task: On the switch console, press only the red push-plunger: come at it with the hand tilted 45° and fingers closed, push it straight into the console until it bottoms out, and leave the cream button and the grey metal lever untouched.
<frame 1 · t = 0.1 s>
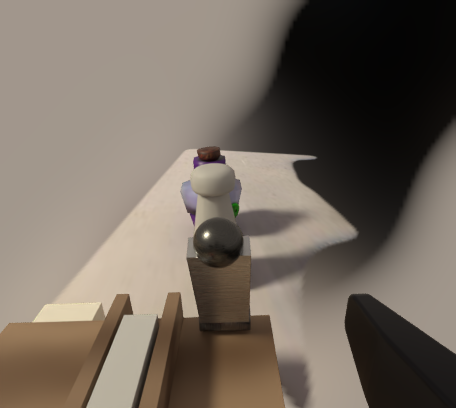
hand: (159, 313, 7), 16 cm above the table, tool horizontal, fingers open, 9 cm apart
lever: (222, 283, 17), point 11 cm above the table, hinge at -20.0°
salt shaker: (219, 279, 35), on the table
potion bottle: (214, 231, 45), on the table
cream button: (73, 339, 24), point 3 cm above the table, slide at 0.0 cm
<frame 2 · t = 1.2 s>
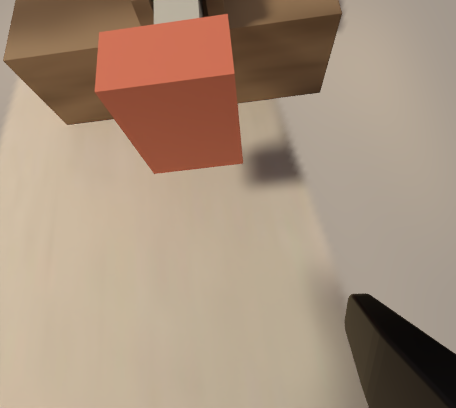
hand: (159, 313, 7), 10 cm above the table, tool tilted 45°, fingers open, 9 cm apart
red plunger: (179, 16, 15), point 7 cm above the table, slide at 0.0 cm
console: (188, 64, 23), on the table
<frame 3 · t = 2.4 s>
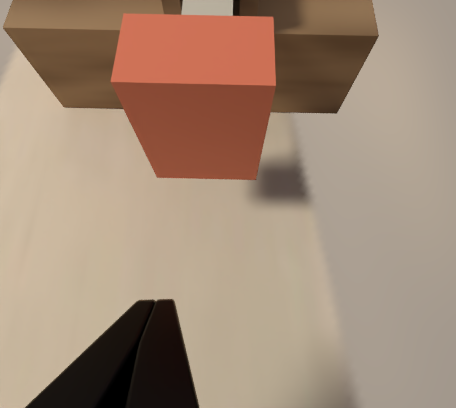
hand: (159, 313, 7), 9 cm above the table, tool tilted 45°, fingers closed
red plunger: (209, 10, 13), point 8 cm above the table, slide at 0.0 cm
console: (203, 62, 22), on the table
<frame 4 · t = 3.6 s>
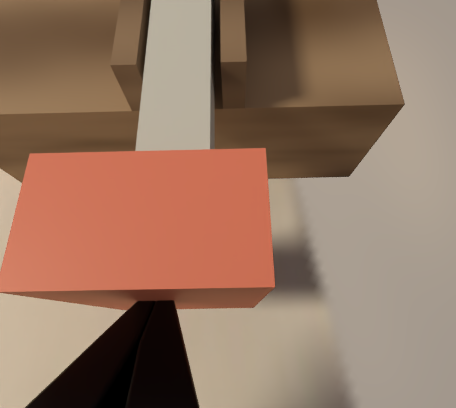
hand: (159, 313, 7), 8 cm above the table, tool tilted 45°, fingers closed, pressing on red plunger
red plunger: (181, 91, 10), point 7 cm above the table, slide at 0.1 cm, touching gripper
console: (187, 119, 19), on the table
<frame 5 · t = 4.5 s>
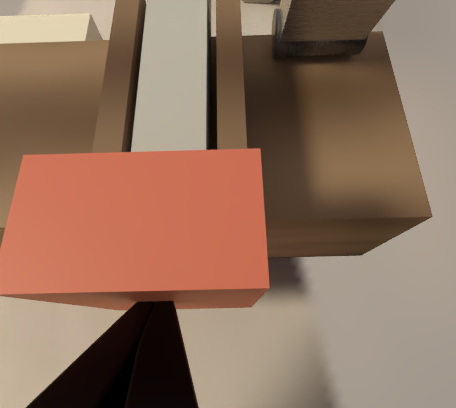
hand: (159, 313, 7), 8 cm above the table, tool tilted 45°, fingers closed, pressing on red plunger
red plunger: (177, 91, 10), point 7 cm above the table, slide at 4.5 cm, touching gripper
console: (182, 186, 17), on the table
cream button: (66, 74, 17), point 3 cm above the table, slide at 0.0 cm
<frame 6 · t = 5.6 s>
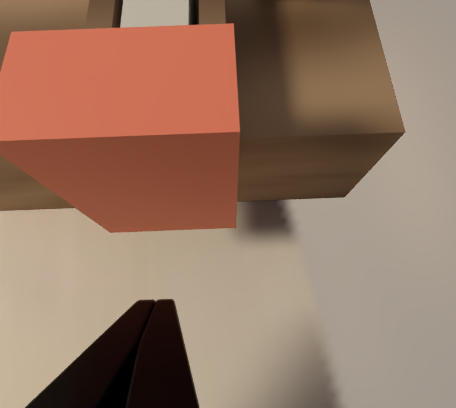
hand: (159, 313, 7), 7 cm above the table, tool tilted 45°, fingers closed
red plunger: (161, 17, 10), point 8 cm above the table, slide at 4.3 cm
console: (172, 136, 17), on the table
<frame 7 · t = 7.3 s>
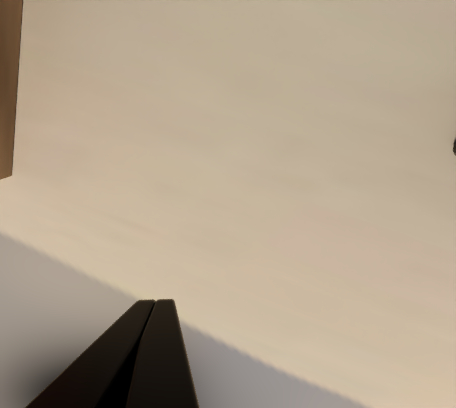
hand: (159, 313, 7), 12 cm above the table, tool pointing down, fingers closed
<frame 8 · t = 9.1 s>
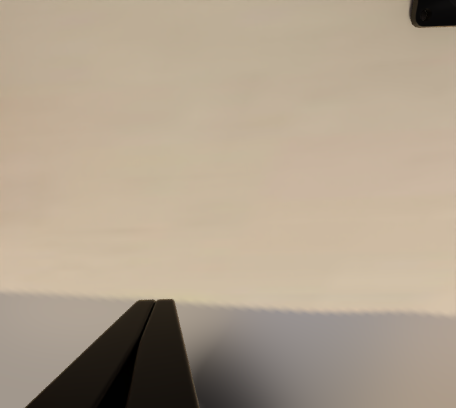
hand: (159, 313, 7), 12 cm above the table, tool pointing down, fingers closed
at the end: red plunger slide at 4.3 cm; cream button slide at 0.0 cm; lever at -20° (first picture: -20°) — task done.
